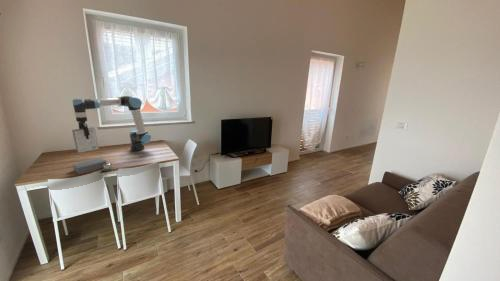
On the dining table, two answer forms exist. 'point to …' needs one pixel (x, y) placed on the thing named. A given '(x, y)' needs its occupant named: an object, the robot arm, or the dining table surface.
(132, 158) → the dining table surface
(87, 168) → the stand
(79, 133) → the hard drive box
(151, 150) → the dining table surface
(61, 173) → the dining table surface
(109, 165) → the metal tin
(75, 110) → the robot arm
